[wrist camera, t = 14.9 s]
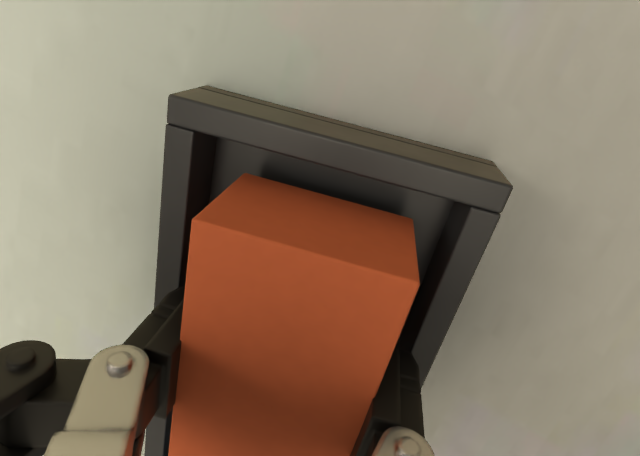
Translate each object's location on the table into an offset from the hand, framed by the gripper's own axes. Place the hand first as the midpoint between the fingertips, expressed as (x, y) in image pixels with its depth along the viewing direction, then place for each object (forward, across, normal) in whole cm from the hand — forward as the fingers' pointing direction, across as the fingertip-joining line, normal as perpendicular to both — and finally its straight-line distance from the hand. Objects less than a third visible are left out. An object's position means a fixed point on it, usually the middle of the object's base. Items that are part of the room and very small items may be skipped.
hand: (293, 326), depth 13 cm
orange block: (0, 0, 0) cm, 0 cm away
